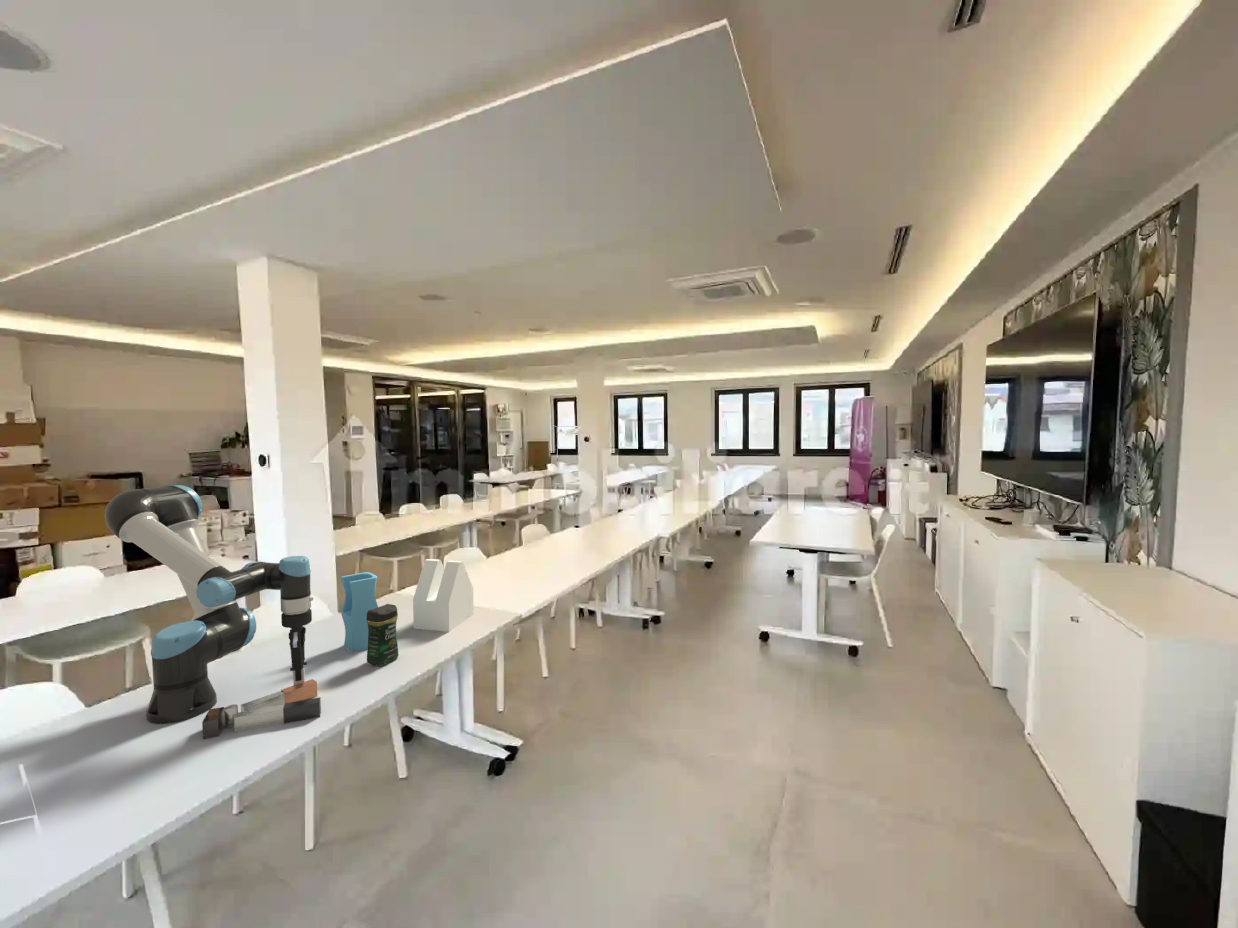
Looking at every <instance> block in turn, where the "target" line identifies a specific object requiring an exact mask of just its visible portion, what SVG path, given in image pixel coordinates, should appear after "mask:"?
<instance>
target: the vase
mask: <svg viewBox="0 0 1238 928" xmlns="http://www.w3.org/2000/svg"><path fill="white" fill-rule="evenodd" d="M340 580H341V582H342V585H343V588H344V602H343V605H342V609H341V613H340V614H341V617H342V618H341V619H342V621H343V624H344V632H345V633H344V634H345V635H344V642H343V643H344V644H343V647H345V649H347V651H349V652H350V653H356V652H361V651H365V650H367V649H368V624H367V621H366V620H367V612H368V611H369V610H372V609H375V608H378V607H379V605H378V602H377V599H376V598H377V597H376V586H377V581H378V576H377V575H376V574H374V573H372V572H368V571H365V572H360V573H359V572H358V573H353V574H348V575H343V576H340Z"/></svg>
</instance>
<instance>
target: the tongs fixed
mask: <svg viewBox="0 0 1238 928" xmlns="http://www.w3.org/2000/svg"><path fill="white" fill-rule="evenodd" d="M321 702H322V700H321V697H320V696H319V697H313V698H310V699H307V700H302V701H296V702H290V703H285V705H279V706H273V707H268V708H262V709H256V710H250V711H245V712H241V711H240V712H239V711H238V713H236V715H235V717H234V733H238V732H246V731H250V730H255V729H256V730H257V729H260V728H266V727H271V726H278V725H282V724H283V725H284V724H285V725H286V724H290V723H296V722H301V721H306V720H312V719H317V718H321V713H322V707H321V706H322V703H321ZM201 723H202V725H201V726H202V740H208V739H212V738H217V737H218V738H219V737H220V736H221V732H222V731H223V729H224V727H225V706H222V707H216V708H215V707H214V708H211V709H210V710H208V711H207V712H206V715H205V716H204V718H203V720H202V722H201Z"/></svg>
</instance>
